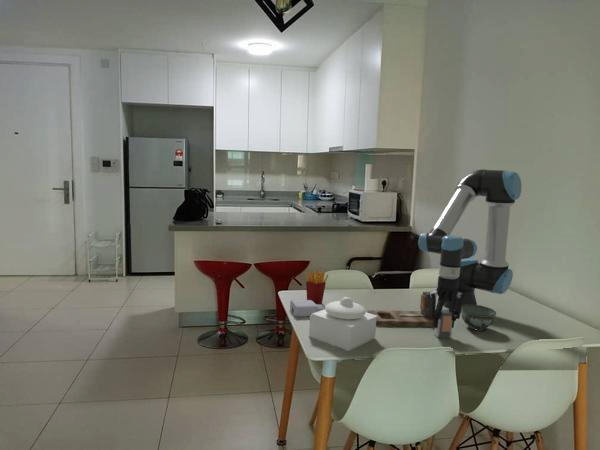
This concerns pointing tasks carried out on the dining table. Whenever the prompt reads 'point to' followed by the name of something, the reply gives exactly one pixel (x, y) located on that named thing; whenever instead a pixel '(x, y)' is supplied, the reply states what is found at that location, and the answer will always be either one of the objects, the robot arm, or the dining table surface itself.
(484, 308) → the bowl
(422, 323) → the brown wooden stand
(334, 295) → the dining table surface
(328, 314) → the white lidded jar
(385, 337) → the dining table surface
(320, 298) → the french fries
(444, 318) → the grey orange block
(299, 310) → the charger
